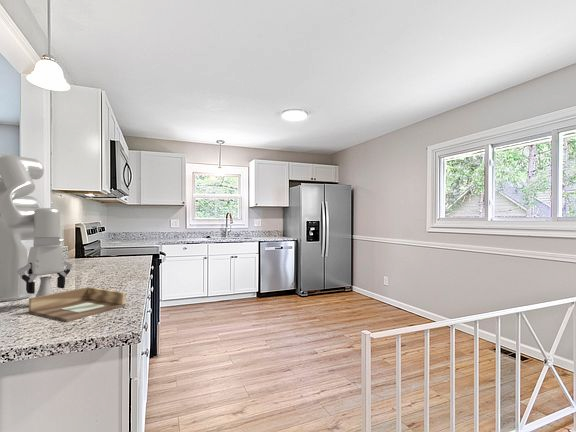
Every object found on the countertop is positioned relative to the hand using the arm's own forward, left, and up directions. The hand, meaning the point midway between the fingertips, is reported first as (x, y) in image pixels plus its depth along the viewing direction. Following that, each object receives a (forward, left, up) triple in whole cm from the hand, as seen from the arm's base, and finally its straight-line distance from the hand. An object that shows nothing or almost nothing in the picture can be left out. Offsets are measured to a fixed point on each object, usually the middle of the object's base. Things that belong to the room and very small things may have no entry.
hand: (46, 290), depth 113 cm
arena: (+15, +2, -5) cm, 16 cm away
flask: (-1, 0, -6) cm, 6 cm away
